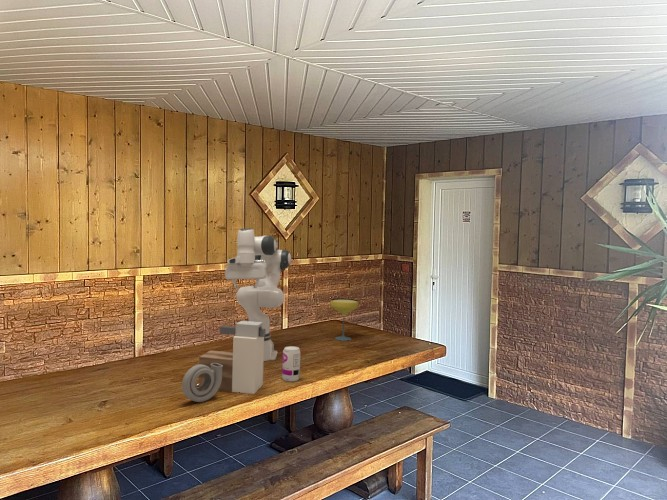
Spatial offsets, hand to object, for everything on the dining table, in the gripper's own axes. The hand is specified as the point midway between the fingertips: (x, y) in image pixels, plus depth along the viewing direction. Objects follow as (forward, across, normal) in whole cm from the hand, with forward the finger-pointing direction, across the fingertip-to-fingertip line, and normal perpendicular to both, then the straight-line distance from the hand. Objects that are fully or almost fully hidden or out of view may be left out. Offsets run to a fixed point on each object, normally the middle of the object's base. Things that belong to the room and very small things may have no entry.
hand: (245, 288), depth 248 cm
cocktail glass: (+31, -42, -85) cm, 100 cm away
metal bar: (+21, -4, +22) cm, 31 cm away
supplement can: (+44, -22, +2) cm, 49 cm away
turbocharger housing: (+47, +9, +36) cm, 60 cm away
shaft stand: (+45, -6, +19) cm, 49 cm away
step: (+44, +7, +18) cm, 48 cm away
